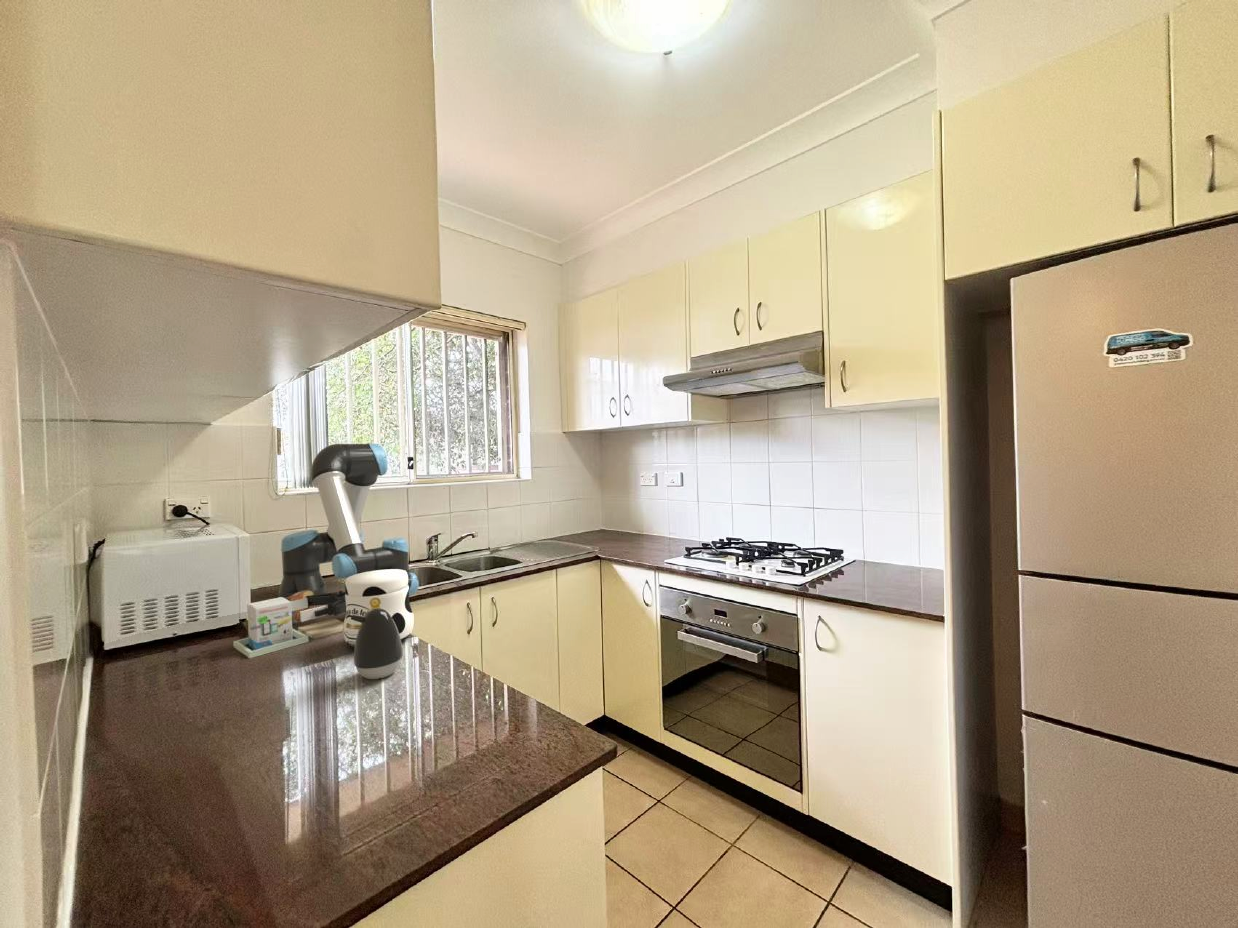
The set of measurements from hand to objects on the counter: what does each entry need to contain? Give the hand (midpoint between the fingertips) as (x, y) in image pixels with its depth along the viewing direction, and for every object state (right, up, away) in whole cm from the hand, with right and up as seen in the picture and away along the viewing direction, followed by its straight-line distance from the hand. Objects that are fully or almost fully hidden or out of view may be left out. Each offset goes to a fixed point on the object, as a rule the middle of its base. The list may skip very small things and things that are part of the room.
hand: (291, 612), depth 143 cm
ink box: (-3, -8, -3) cm, 9 cm away
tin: (-9, -8, +18) cm, 22 cm away
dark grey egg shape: (+37, -7, -26) cm, 45 cm away
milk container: (+27, -7, -4) cm, 28 cm away
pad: (+5, -7, +7) cm, 11 cm away
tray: (-3, -8, -3) cm, 9 cm away
